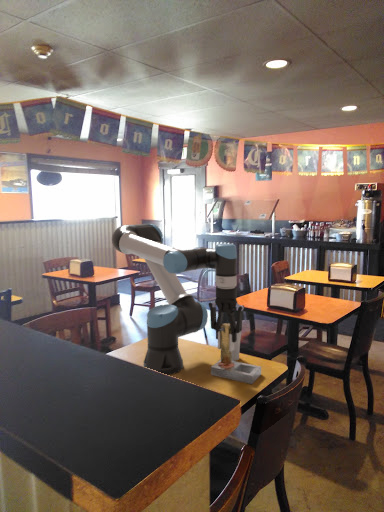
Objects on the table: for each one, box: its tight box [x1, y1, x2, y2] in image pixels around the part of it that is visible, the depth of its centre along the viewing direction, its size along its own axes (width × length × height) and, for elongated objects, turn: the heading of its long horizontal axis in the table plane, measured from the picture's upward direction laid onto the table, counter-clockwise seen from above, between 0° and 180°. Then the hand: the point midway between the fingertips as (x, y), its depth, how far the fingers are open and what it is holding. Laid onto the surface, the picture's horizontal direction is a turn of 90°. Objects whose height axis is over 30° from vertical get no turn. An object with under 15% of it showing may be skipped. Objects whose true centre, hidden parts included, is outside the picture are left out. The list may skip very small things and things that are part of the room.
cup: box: [232, 331, 242, 362], centre depth 159 cm, size 8×8×12 cm
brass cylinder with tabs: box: [220, 322, 232, 364], centre depth 144 cm, size 6×4×14 cm, turn 150°
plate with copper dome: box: [210, 358, 262, 385], centre depth 144 cm, size 16×9×3 cm, turn 60°
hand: (226, 348), depth 145 cm, fingers closed on brass cylinder with tabs, 4 cm apart
